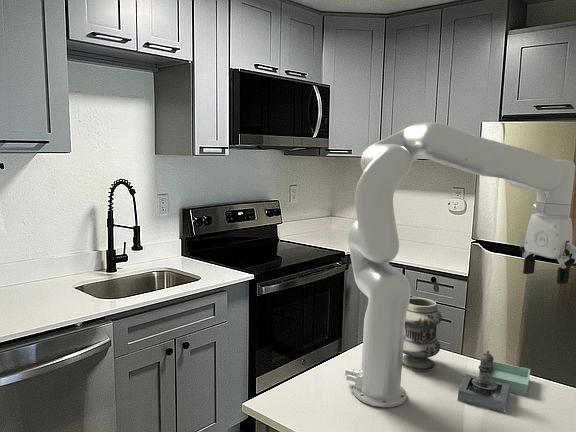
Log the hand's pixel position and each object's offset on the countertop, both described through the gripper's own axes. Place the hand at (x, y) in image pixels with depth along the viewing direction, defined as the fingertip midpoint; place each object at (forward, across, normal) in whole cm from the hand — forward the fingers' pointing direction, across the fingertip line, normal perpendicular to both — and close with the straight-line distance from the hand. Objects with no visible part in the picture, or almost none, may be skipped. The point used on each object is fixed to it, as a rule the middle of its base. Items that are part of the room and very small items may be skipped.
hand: (544, 278), depth 123 cm
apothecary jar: (+29, -21, -20) cm, 41 cm away
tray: (+29, -4, -5) cm, 29 cm away
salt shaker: (+29, 0, -16) cm, 33 cm away
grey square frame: (+29, 0, -16) cm, 33 cm away
